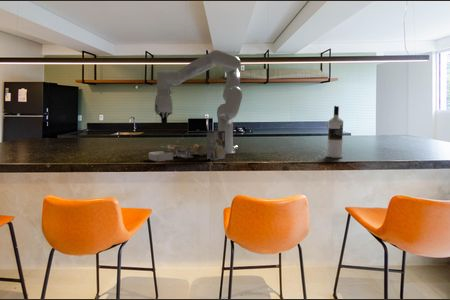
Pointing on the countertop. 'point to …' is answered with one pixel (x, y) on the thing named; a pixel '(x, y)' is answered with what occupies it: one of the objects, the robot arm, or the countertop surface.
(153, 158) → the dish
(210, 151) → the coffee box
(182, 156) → the stand
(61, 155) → the countertop surface
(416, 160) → the countertop surface
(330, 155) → the vodka
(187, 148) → the launcher
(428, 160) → the countertop surface
